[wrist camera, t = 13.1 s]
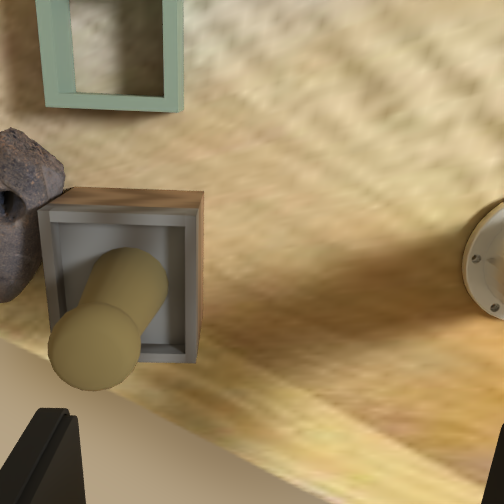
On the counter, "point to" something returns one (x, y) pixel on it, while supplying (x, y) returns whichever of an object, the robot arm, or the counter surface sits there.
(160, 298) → the tan rounded piece
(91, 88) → the counter surface
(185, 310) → the gray open box
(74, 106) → the shaker holder
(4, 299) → the perforated stone tool
